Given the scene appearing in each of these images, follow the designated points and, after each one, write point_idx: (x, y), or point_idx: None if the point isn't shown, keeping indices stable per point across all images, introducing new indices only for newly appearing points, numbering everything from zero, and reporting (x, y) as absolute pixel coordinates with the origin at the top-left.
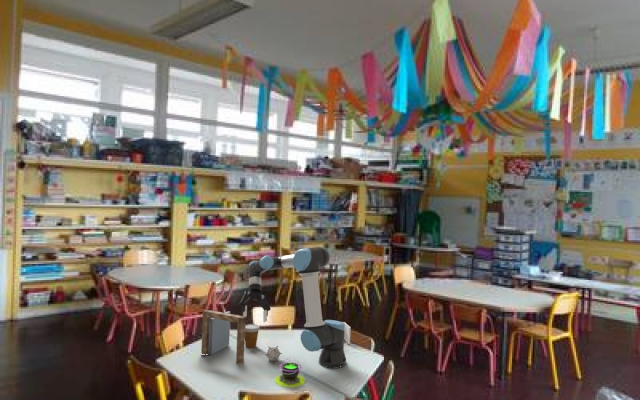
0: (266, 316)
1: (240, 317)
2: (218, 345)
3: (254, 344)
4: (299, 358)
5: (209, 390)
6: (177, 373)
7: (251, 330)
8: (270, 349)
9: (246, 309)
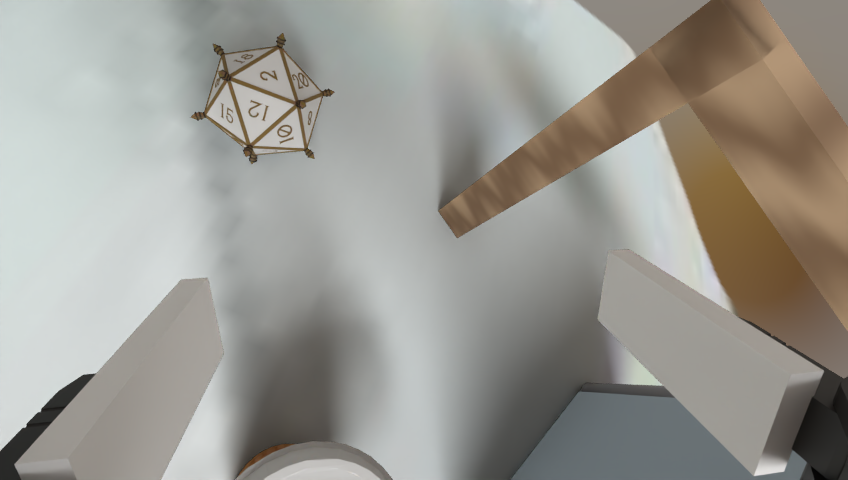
0: (155, 321)
1: (762, 12)
2: (563, 450)
3: (269, 450)
4: (23, 58)
5: (609, 52)
6: (696, 238)
7: (347, 451)
8: (299, 85)
9: (708, 314)
